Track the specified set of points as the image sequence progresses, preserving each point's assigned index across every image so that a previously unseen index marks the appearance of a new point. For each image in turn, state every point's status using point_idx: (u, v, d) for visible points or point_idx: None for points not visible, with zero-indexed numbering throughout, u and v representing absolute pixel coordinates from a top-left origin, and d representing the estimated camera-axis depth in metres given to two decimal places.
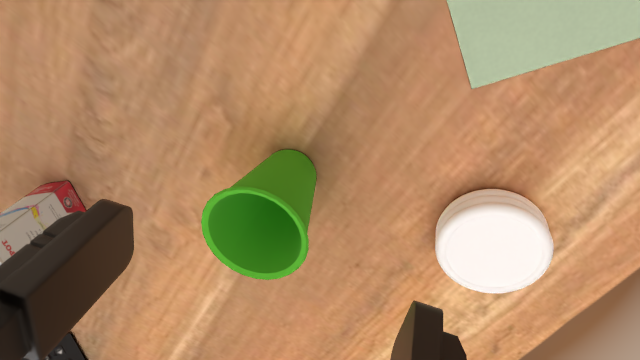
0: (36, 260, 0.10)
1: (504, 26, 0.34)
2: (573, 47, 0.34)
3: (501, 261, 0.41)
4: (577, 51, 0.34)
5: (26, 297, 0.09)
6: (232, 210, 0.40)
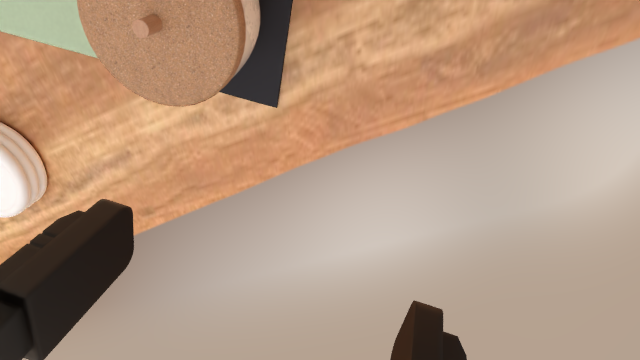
0: (36, 260, 0.10)
1: None
2: (71, 41, 0.38)
3: None
4: (74, 46, 0.39)
5: (26, 297, 0.09)
6: None
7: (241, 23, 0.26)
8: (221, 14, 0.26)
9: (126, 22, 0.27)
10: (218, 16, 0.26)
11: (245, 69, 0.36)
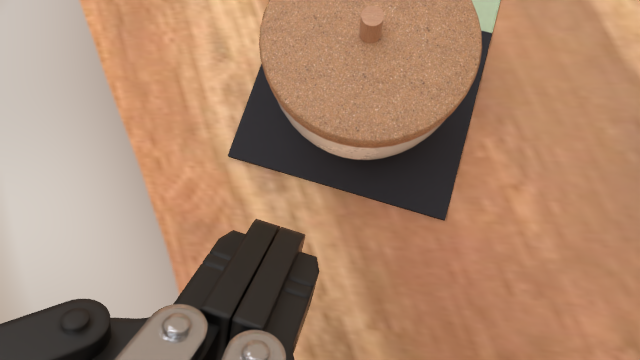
0: (224, 281, 0.10)
1: None
2: None
3: None
4: None
5: (229, 318, 0.10)
6: None
7: (363, 143, 0.21)
8: (376, 121, 0.21)
9: None
10: (374, 117, 0.21)
11: (279, 124, 0.29)
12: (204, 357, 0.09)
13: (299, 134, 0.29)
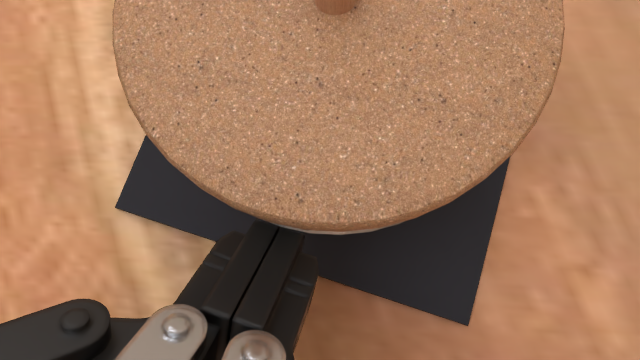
0: (224, 281, 0.10)
1: None
2: None
3: None
4: None
5: (229, 318, 0.10)
6: None
7: (313, 228, 0.10)
8: (342, 182, 0.10)
9: None
10: (338, 172, 0.10)
11: None
12: (204, 357, 0.09)
13: None
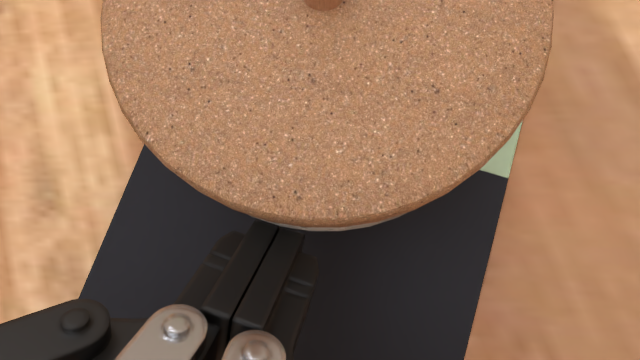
0: (224, 281, 0.10)
1: None
2: None
3: None
4: None
5: (229, 318, 0.10)
6: None
7: (312, 225, 0.10)
8: (339, 177, 0.10)
9: None
10: (334, 168, 0.10)
11: None
12: (204, 357, 0.09)
13: None
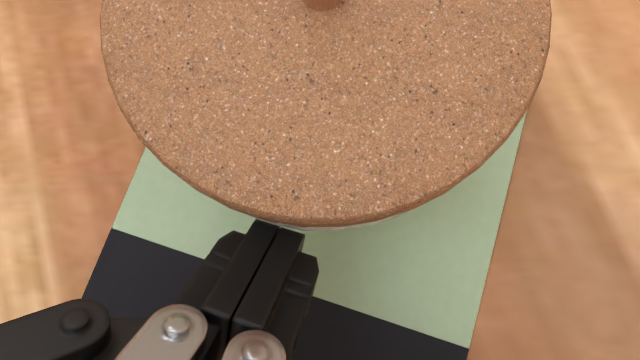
0: (224, 281, 0.10)
1: None
2: None
3: None
4: None
5: (230, 318, 0.10)
6: None
7: (310, 224, 0.10)
8: (337, 177, 0.10)
9: None
10: (332, 167, 0.10)
11: None
12: (204, 357, 0.09)
13: None
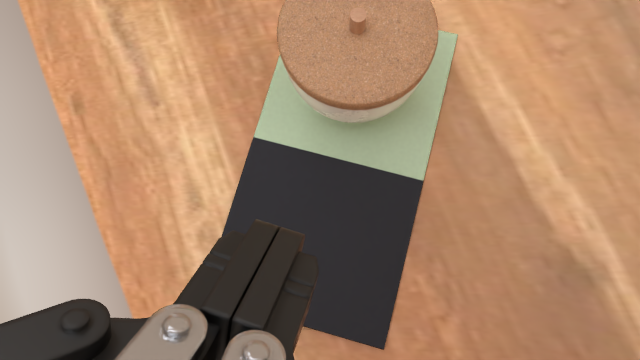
0: (224, 281, 0.10)
1: None
2: (282, 79, 0.38)
3: None
4: (276, 81, 0.38)
5: (229, 318, 0.10)
6: None
7: (358, 106, 0.29)
8: (366, 89, 0.29)
9: (357, 2, 0.30)
10: (365, 87, 0.29)
11: None
12: (204, 357, 0.09)
13: None
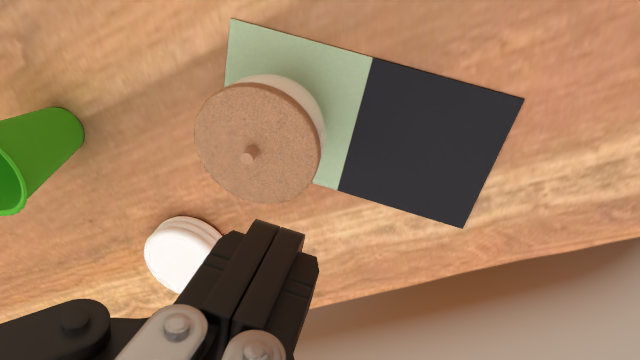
0: (224, 281, 0.10)
1: None
2: None
3: (185, 274, 0.53)
4: None
5: (230, 318, 0.10)
6: None
7: (319, 151, 0.36)
8: (305, 146, 0.36)
9: (232, 149, 0.37)
10: (303, 148, 0.36)
11: (442, 200, 0.44)
12: (204, 357, 0.09)
13: (450, 188, 0.43)
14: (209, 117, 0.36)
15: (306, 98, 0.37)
